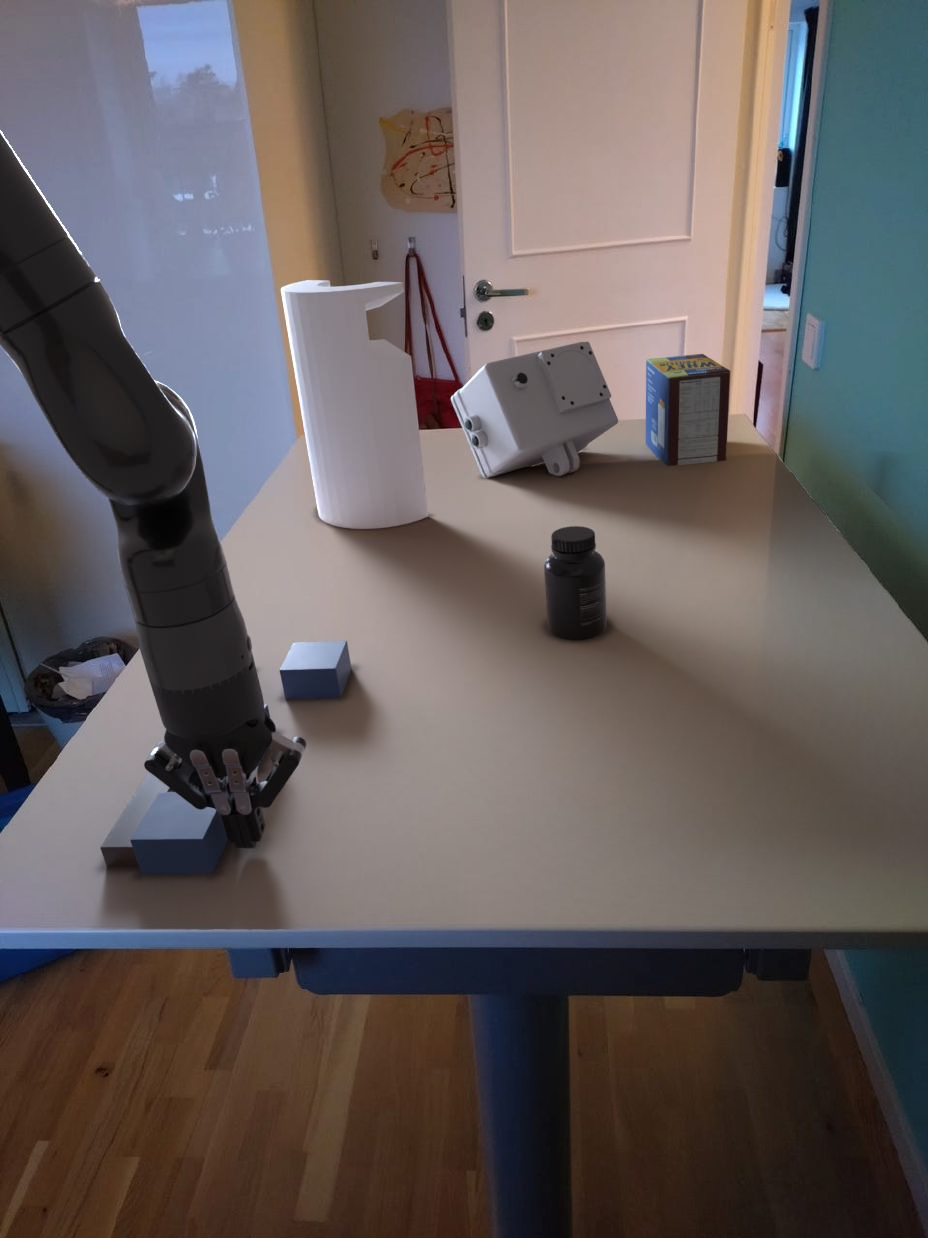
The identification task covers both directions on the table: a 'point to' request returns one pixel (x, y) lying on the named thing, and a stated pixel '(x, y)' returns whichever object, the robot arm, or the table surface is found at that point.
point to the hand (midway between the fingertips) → (249, 841)
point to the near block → (178, 837)
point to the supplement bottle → (575, 585)
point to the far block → (316, 670)
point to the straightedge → (131, 824)
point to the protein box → (687, 409)
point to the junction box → (535, 410)
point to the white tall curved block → (355, 406)
